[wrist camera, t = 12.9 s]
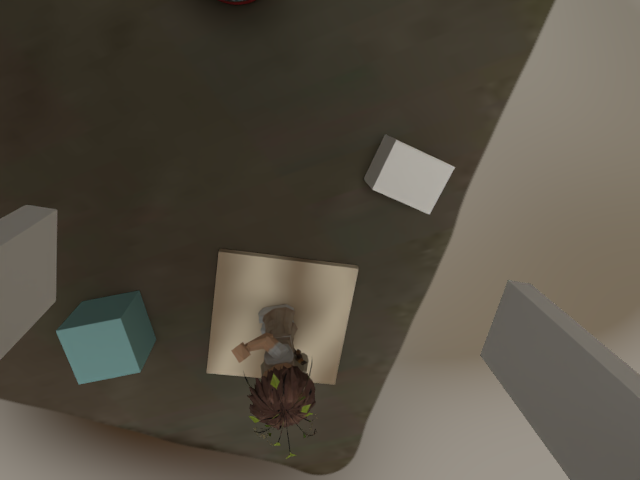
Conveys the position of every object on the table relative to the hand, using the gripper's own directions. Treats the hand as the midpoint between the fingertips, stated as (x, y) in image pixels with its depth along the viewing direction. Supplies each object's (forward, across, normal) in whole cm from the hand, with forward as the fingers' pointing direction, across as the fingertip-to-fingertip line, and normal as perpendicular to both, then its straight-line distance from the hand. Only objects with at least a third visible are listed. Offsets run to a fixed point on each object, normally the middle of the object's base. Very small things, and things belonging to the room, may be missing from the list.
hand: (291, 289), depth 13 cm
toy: (+24, +2, -15) cm, 28 cm away
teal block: (+25, -11, -17) cm, 32 cm away
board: (+25, +3, -15) cm, 29 cm away
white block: (+25, +10, 0) cm, 27 cm away
